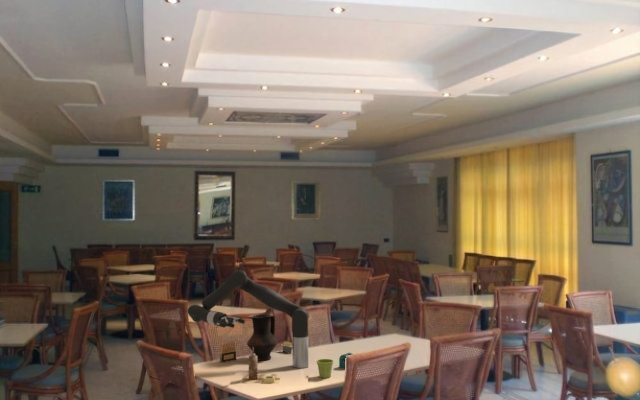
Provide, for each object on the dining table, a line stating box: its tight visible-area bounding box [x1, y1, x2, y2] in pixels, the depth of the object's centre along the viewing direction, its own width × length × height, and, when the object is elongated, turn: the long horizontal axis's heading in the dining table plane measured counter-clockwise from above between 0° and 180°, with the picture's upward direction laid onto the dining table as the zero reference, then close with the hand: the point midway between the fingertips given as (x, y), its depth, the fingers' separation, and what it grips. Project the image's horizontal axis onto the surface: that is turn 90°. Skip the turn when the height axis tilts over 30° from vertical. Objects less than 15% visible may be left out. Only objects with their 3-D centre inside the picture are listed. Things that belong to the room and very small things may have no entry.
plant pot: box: [316, 358, 335, 379], centre depth 348 cm, size 9×9×9 cm
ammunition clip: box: [219, 339, 237, 363], centre depth 386 cm, size 11×2×12 cm, turn 133°
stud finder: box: [263, 376, 275, 384], centre depth 335 cm, size 5×6×2 cm
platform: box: [280, 341, 293, 354], centre depth 409 cm, size 12×18×7 cm, turn 46°
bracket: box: [338, 352, 353, 369], centre depth 367 cm, size 18×7×8 cm, turn 55°
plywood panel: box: [239, 373, 282, 384], centre depth 340 cm, size 20×18×1 cm
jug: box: [246, 307, 279, 361], centre depth 392 cm, size 21×18×30 cm
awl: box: [248, 347, 258, 380], centre depth 339 cm, size 5×5×17 cm
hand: (239, 323), depth 349 cm, fingers open, 8 cm apart
